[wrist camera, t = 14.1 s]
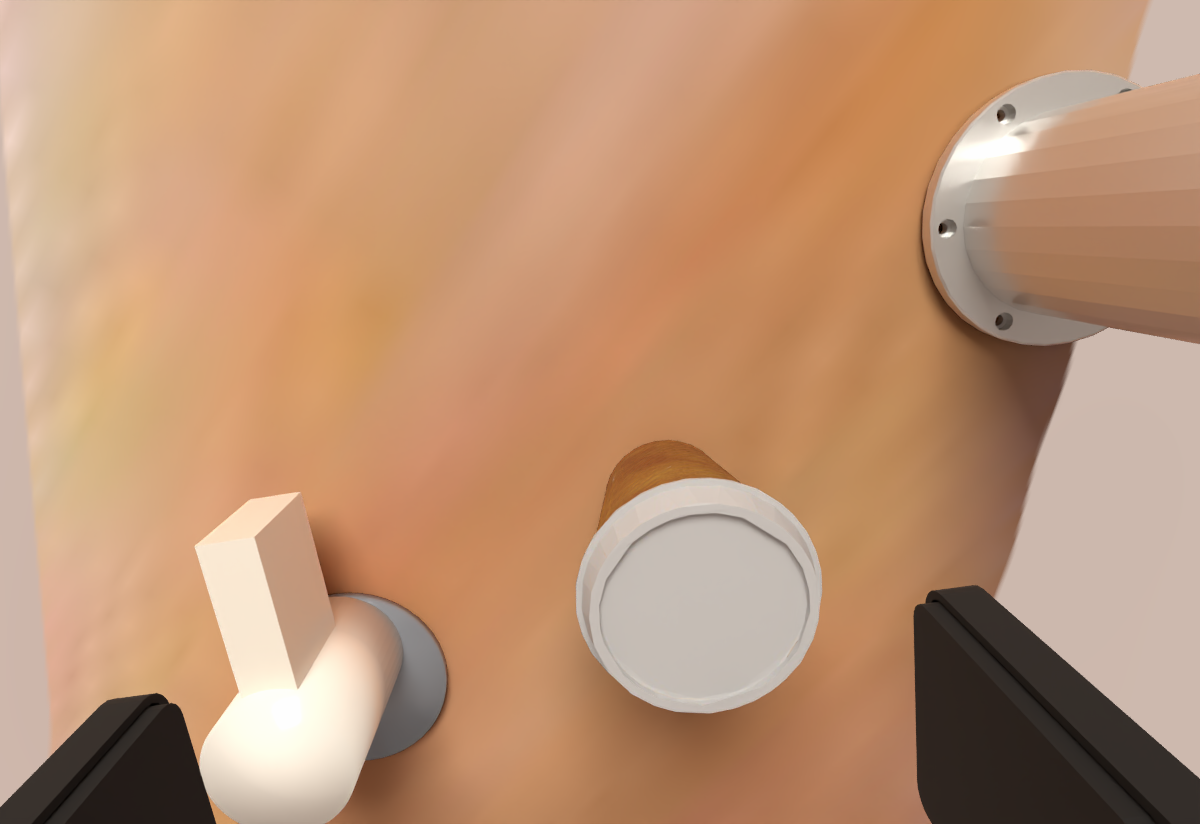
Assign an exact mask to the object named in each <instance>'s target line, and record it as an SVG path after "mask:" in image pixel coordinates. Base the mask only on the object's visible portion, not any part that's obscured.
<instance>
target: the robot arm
mask: <svg viewBox="0 0 1200 824" xmlns="http://www.w3.org/2000/svg"><path fill="white" fill-rule="evenodd" d="M997 112H998V113H999V115H1000V118H999V120H998V119H997ZM940 224H941V225H942V227H943V230H942V232H941V233H940V234H939V231H938V228H939V225H940ZM922 239H923V246H924V252H925V258H926V263H927V265H928V268H929V271H930V274H931V276H932V279H933V282H934V284H935V286H936V287H937V289H938V291H939V292H940V294H941V295H942V297H943V298H944V300H945V302H946V303H947V304H948V305H949V306H950V307H951V308H952V309H953V310H954V311H955V312H956V313H957V315H958V316H959V317H960V318H961V319H962V320H964V321H965V322H967V323H969V324H970V325H972V326H973V327H975V328H976V329H978V330H979V331H981V332H983V333H986V334H988V335H991V336H994V337H996V338H999V339H1001V340H1005V341H1010V342H1014V343H1018V344H1022V345H1038V346H1049V345H1057V344H1065V343H1071V342H1074V341H1077V340H1080V339H1083V338H1086V337H1089V336H1092V335H1095V334H1097V333H1099V332H1101V331H1102V330H1104V329H1106V328H1108V327H1110V328H1115V329H1122V330H1126V331H1132V332H1137V333H1143V334H1149V335H1153V336H1159V337H1164V338H1170V339H1175V340H1181V341H1186V342H1191V343H1197V344H1200V74H1197V75H1193V76H1189V77H1185V78H1181V79H1177V80H1173V81H1168V82H1165V83H1160V84H1156V85H1152V86H1148V87H1145V88H1142V87H1141V86H1140V85H1138V84H1136V83H1134V82H1132V81H1129V80H1127V79H1125V78H1123V77H1120V76H1118V75H1115V74H1110V73H1105V72H1100V71H1094V70H1069V71H1062V72H1057V73H1053V74H1049V75H1044V76H1040V77H1037V78H1034V79H1031V80H1029V81H1026V82H1023V83H1020V84H1018V85H1015V86H1014V87H1012V88H1010V89H1008V90H1006V91H1005V92H1003V93H1001V94H999V95H997V96H996V97H994V98H992V99H991V100H990V101H989V102H987V103H986V104H985V105H984V106H982V107H981V108H980V109H979V110H978V111H976V112H975V113H974V114H973V115H971V116H970V118H969V119H968V120H967V121H966V122H965V123H964V125H963V126H962V127H961V128H960V129H959V130H958V131H957V133H956V134H955V135H954V136H953V137H952V139H951V141H950V142H949V144H948V146H947V147H946V149H945V150H944V152H943V154H942V155H941V157H940V159H939V160H938V163H937V165H936V168H935V170H934V173H933V175H932V178H931V180H930V183H929V185H928V190H927V195H926V199H925V204H924V209H923V225H922ZM997 317H998V321H997V322H996V323H995V321H996V318H997ZM914 655H915V700H916V746H917V783H918V790H919V795H920V798H921V802H922V805H923V807H924V810H925V812H926V814H927V816H928V818H929V819H930V821H931V823H932V824H1200V779H1199V778H1198V777H1197V776H1196V775H1195V774H1194V773H1193V772H1191V771H1190V770H1189V769H1188V768H1187V767H1186V766H1185V765H1183V764H1182V763H1181V762H1180V761H1179V760H1178V759H1177V758H1175V757H1174V756H1173V755H1172V754H1171V753H1170V752H1168V751H1167V750H1166V749H1165V748H1164V747H1163V746H1162V745H1161V744H1159V743H1158V742H1157V741H1156V740H1155V739H1154V738H1153V737H1151V736H1150V735H1149V734H1148V733H1147V732H1146V731H1145V730H1143V729H1142V728H1141V727H1140V726H1139V725H1138V724H1137V723H1135V722H1134V721H1133V720H1132V719H1131V718H1130V717H1128V715H1126V714H1125V713H1124V712H1123V711H1122V710H1121V709H1120V708H1118V707H1117V706H1116V705H1115V704H1114V703H1113V702H1112V701H1110V700H1109V699H1108V698H1107V697H1106V696H1104V695H1103V694H1102V693H1101V692H1100V691H1099V690H1098V689H1097V688H1095V687H1094V686H1093V685H1092V684H1091V683H1090V682H1089V681H1087V680H1086V679H1085V678H1084V677H1083V676H1082V675H1081V674H1080V673H1078V672H1077V671H1076V670H1075V669H1074V668H1073V667H1072V666H1070V665H1069V664H1068V663H1067V662H1066V661H1065V660H1063V659H1062V658H1061V657H1060V656H1059V655H1058V654H1057V653H1056V652H1054V651H1053V650H1052V649H1051V648H1050V647H1049V646H1048V645H1047V644H1045V643H1044V642H1043V641H1042V640H1041V639H1040V638H1039V637H1037V636H1036V635H1035V634H1034V633H1033V632H1032V631H1031V630H1029V629H1028V628H1027V627H1026V626H1025V625H1024V624H1023V623H1021V622H1020V621H1019V620H1018V619H1017V618H1016V617H1015V616H1013V615H1012V614H1011V613H1010V612H1009V611H1008V610H1007V609H1005V608H1004V607H1003V606H1002V605H1001V604H1000V603H998V602H997V601H996V600H995V599H994V598H993V597H992V596H991V595H990V594H988V593H987V592H986V591H985V590H984V589H982V588H981V587H979V586H974V585H972V586H965V587H957V588H950V589H942V590H935V591H931V592H929V593H928V595H927V598H926V604H919V605H917V606H916V607H915V610H914ZM0 824H216V822H215V818H214V815H213V812H212V808H211V805H210V802H209V799H208V795H207V792H206V789H205V786H204V782H203V779H202V776H201V772H200V769H199V766H198V763H197V759H196V756H195V753H194V749H193V746H192V743H191V740H190V736H189V733H188V730H187V727H186V723H185V720H184V717H183V714H182V711H181V709H180V708H179V707H178V706H177V705H176V704H173V703H170V704H169V702H168V700H167V699H166V698H165V697H164V696H163V695H160V694H157V693H155V694H147V695H140V696H132V697H125V698H117V699H112V700H108V701H106V702H105V703H103V704H102V705H101V706H100V707H99V708H98V709H97V710H96V711H95V712H94V713H93V714H92V715H91V716H90V717H89V718H88V719H87V720H86V721H85V722H84V723H83V724H82V725H81V726H80V727H79V728H78V729H77V730H76V731H75V732H74V733H73V734H72V735H71V736H70V737H69V738H68V739H67V740H66V741H65V742H64V743H63V744H62V745H61V746H60V747H59V748H58V749H57V750H56V751H55V752H54V753H53V754H52V755H51V756H50V757H49V758H48V759H47V760H46V761H45V763H43V765H41V767H39V769H38V770H37V771H36V772H35V773H34V774H33V775H32V776H31V777H30V778H29V779H28V780H27V781H26V782H25V783H24V784H23V785H22V786H21V787H20V788H19V789H18V790H17V791H16V792H15V793H14V794H13V795H12V796H11V797H10V798H9V799H8V800H7V801H6V802H5V803H4V804H3V805H2V806H1V807H0Z"/></svg>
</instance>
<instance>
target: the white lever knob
mask: <svg viewBox="0 0 1200 824" xmlns="http://www.w3.org/2000/svg"><path fill="white" fill-rule="evenodd" d="M195 549H196V552H197V556H198V559H199V562H200V565H201V569H202V572H203V575H204V579H205V582H206V585H207V588H208V592H209V595H210V598H211V601H212V605H213V608H214V611H215V614H216V618H217V621H218V624H219V627H220V631H221V634H222V637H223V640H224V644H225V647H226V650H227V653H228V657H229V660H230V663H231V667H232V670H233V673H234V676H235V680H236V683H237V686H238V689H239V693H238V694H237V695H236V697H235V698H234V699H233V701H232V702H231V704H230V705H229V706H228V708H227V709H226V711H225V712H224V713H223V715H222V716H221V718H220V719H219V720H218V722H217V723H216V725H215V726H214V727H213V729H212V730H211V732H210V733H209V735H208V736H207V738H206V740H205V742H204V744H203V747H202V750H201V755H200V772H201V776H202V779H203V782H204V786H205V789H206V791H207V793H208V795H209V796H210V798H211V799H212V801H213V802H214V803H215V805H216V806H217V807H218V808H219V809H220V810H221V811H222V812H223V813H225V814H226V815H227V816H229V817H230V818H231V819H233V820H235V821H236V822H238V823H240V824H325V823H327V822H328V821H330V820H332V819H333V818H334V817H335V816H336V815H337V814H339V813H340V811H341V810H342V809H343V808H344V807H345V805H346V804H347V802H348V801H349V799H350V797H351V795H352V792H353V790H354V787H355V785H356V782H357V780H358V777H359V774H360V772H361V769H362V767H363V764H364V762H365V759H366V756H367V754H368V751H369V749H370V746H371V744H372V741H373V738H374V736H375V733H376V731H377V728H378V726H379V723H380V720H381V718H382V715H383V713H384V710H385V708H386V705H387V702H388V700H389V697H390V695H391V692H392V689H393V687H394V684H395V682H396V679H397V677H398V674H399V671H400V669H401V665H402V661H403V645H402V640H401V637H400V634H399V632H398V630H397V628H396V627H395V625H394V624H393V622H392V621H391V620H390V619H389V617H388V616H387V615H385V614H384V613H383V612H382V611H381V610H379V609H378V608H377V607H375V606H373V605H371V604H369V603H367V602H365V601H362V600H359V599H355V598H350V597H328V593H327V589H326V586H325V582H324V578H323V574H322V570H321V567H320V563H319V559H318V555H317V551H316V547H315V544H314V540H313V536H312V532H311V528H310V525H309V521H308V517H307V513H306V509H305V506H304V502H303V498H302V494H301V492H296V493H289V494H283V495H276V496H270V497H263V498H256V499H250V500H249V501H248V502H246V503H245V504H244V505H243V506H242V507H240V508H239V509H238V510H237V511H236V512H235V513H233V514H232V515H231V516H230V517H229V518H227V519H226V520H225V521H224V522H223V523H221V524H220V525H219V526H218V527H217V528H216V529H214V530H213V531H212V532H211V533H210V534H208V535H207V536H206V537H205V538H204V539H202V540H201V541H200V542H199V543H198V544H197V545H195Z"/></svg>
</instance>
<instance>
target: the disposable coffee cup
mask: <svg viewBox="0 0 1200 824" xmlns="http://www.w3.org/2000/svg"><path fill="white" fill-rule="evenodd" d="M821 596H822V578H821V568H820V564H819V560H818V556H817V552H816V550H815V548H814V546H813V544H812V541H811V539H810V537H809V535H808V533H807V531H806V530H805V529H804V528H803V526H802V525H801V524H800V522H799V521H798V520H797V519H796V517H795V516H794V515H793V514H792V513H791V512H790V511H789V510H788V509H787V508H785V507H784V506H783V505H782V504H781V503H780V502H778V501H776V500H775V499H773V498H772V497H770V496H768V495H767V494H765V493H763V492H762V491H760V490H759V489H757V488H754V487H751V486H747V485H744V484H741V483H740V482H739V481H738V480H736V479H735V478H734V477H733V476H732V475H730V474H729V473H728V472H727V471H726V470H724V469H723V468H722V467H721V466H719V465H718V464H717V463H715V462H714V461H713V460H712V459H711V458H710V457H708V456H707V455H706V454H705V453H704V452H703V451H701V450H699V449H698V448H696V447H694V446H692V445H689V444H686V443H683V442H679V441H672V440H665V441H655V442H651V443H648V444H645V445H642V446H640V447H638V448H636V449H634V450H633V451H631V452H630V453H629V454H627V455H626V456H625V457H624V458H623V459H622V460H621V461H620V462H619V463H618V464H617V465H616V467H615V469H614V470H613V472H612V474H611V476H610V478H609V481H608V484H607V488H606V494H605V498H604V502H603V507H602V511H601V515H600V520H599V524H598V528H597V533H596V534H595V535H594V536H593V538H592V540H591V542H590V544H589V546H588V548H587V550H586V552H585V554H584V556H583V559H582V562H581V566H580V570H579V573H578V577H577V582H576V613H577V617H578V621H579V624H580V628H581V631H582V635H583V637H584V639H585V641H586V643H587V645H588V647H589V649H590V651H591V653H592V654H593V655H594V657H595V658H596V659H597V660H598V661H599V662H600V664H601V665H602V666H603V667H604V668H605V670H606V671H607V672H608V673H609V674H611V675H612V676H613V677H614V678H615V679H616V680H617V681H618V682H619V683H620V684H621V685H622V686H623V687H625V688H626V689H627V690H628V691H629V692H630V693H631V694H632V695H634V696H636V697H638V698H640V699H642V700H644V701H646V702H648V703H650V704H652V705H654V706H657V707H660V708H664V709H667V710H671V711H674V712H686V713H715V712H720V711H725V710H730V709H735V708H737V707H740V706H742V705H745V704H748V703H750V702H753V701H755V700H757V699H759V698H760V697H762V696H764V695H765V694H767V693H769V692H771V691H772V690H773V689H774V688H776V687H777V686H778V685H779V684H781V683H782V682H783V681H784V680H785V679H786V678H787V677H788V676H789V675H790V674H791V673H792V672H793V670H794V669H795V668H796V667H797V666H798V665H799V664H800V663H801V661H802V659H803V657H804V655H805V654H806V652H807V650H808V648H809V646H810V644H811V642H812V641H813V638H814V634H815V631H816V627H817V624H818V620H819V607H820V601H821Z"/></svg>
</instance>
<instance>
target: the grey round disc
mask: <svg viewBox="0 0 1200 824" xmlns="http://www.w3.org/2000/svg"><path fill="white" fill-rule="evenodd" d="M328 597H350V598H355V599H359V600H362V601H365V602H367V603H369V604H371V605H373V606H375V607H377V608H378V609H379V610H381V611H382V612H383V613H384V614H385V615H387V616H388V617H389V619H390V620H391V621H392V622H393V624H394V625H395V627H396V628H397V630H398V632H399V634H400V637H401V640H402V645H403V661H402V665H401V669H400V671H399V674H398V677H397V679H396V682H395V684H394V687H393V689H392V692H391V695H390V697H389V700H388V702H387V705H386V708H385V710H384V713H383V715H382V718H381V720H380V723H379V726H378V728H377V731H376V733H375V736H374V738H373V741H372V744H371V746H370V749H369V751H368V754H367V756H366V759H365V760H374V759H379V758H384V757H387V756H390V755H393V754H396V753H398V752H400V751H402V750H404V749H406V748H408V747H409V746H411V745H413V744H414V743H415V742H417V741H418V740H419V739H420V738H421V737H423V736H424V734H425V733H426V732H427V731H428V730H429V729H430V728H431V726H432V725H433V724H434V722H435V721H436V719H437V717H438V715H439V713H440V711H441V708H442V705H443V702H444V699H445V695H446V689H447V679H448V673H447V665H446V661H445V657H444V653H443V651H442V649H441V646H440V644H439V642H438V641H437V639H436V637H435V636H434V634H433V633H432V631H431V630H430V629H429V628H428V627H427V625H426V624H425V623H424V622H423V621H422V620H421V619H419V618H418V617H417V616H416V615H415V614H413V613H412V612H411V611H409V610H408V609H406V608H404V607H402V606H401V605H399V604H397V603H395V602H392V601H390V600H388V599H385V598H381V597H378V596H374V595H369V594H363V593H339V594H333V595H328Z"/></svg>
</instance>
